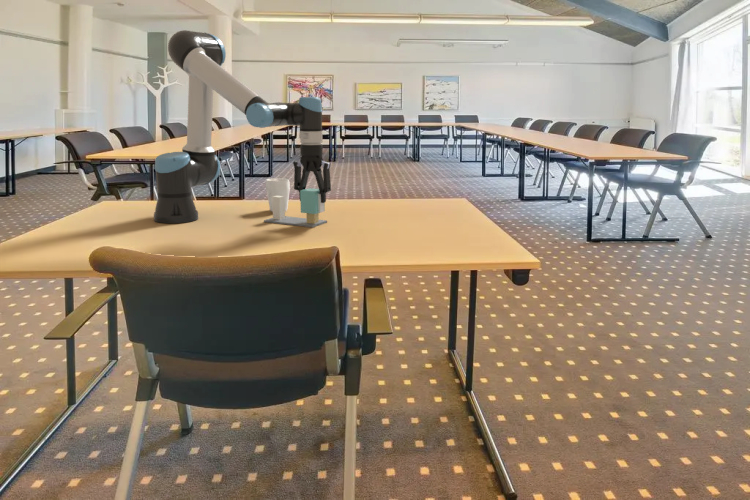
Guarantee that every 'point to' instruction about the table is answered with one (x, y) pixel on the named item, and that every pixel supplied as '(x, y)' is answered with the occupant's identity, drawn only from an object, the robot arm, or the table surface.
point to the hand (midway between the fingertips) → (312, 211)
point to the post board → (280, 217)
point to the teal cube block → (309, 200)
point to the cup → (278, 190)
